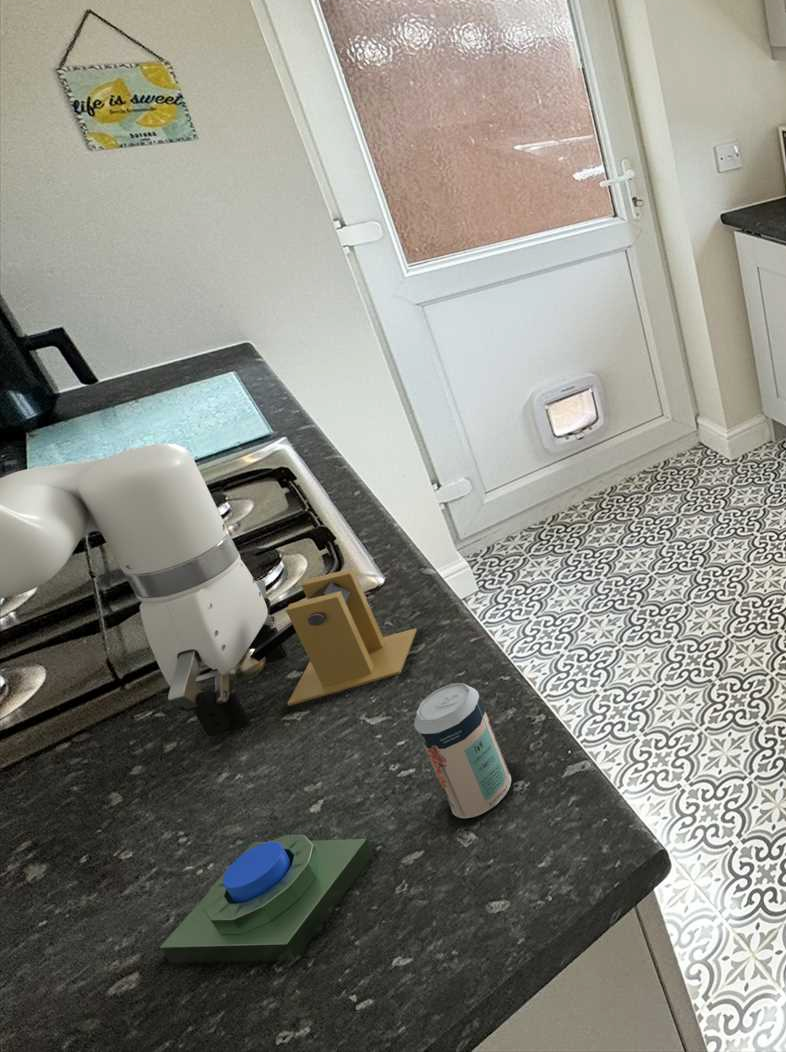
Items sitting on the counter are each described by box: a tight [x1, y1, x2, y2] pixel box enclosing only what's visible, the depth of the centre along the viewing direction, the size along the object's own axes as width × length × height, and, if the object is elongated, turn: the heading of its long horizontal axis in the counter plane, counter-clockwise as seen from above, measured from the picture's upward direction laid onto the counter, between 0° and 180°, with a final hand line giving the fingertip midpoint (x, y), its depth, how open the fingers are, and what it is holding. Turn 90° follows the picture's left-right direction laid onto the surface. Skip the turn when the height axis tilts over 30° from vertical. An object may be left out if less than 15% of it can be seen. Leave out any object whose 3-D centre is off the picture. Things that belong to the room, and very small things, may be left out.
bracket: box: [285, 568, 418, 707], centre depth 85 cm, size 10×7×12 cm
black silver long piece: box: [229, 581, 351, 683], centre depth 83 cm, size 13×3×3 cm
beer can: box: [413, 682, 512, 819], centre depth 70 cm, size 5×5×12 cm
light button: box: [223, 841, 290, 902], centre depth 62 cm, size 4×4×2 cm
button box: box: [159, 834, 374, 964], centre depth 63 cm, size 10×8×4 cm
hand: (250, 693), depth 83 cm, fingers open, 9 cm apart
